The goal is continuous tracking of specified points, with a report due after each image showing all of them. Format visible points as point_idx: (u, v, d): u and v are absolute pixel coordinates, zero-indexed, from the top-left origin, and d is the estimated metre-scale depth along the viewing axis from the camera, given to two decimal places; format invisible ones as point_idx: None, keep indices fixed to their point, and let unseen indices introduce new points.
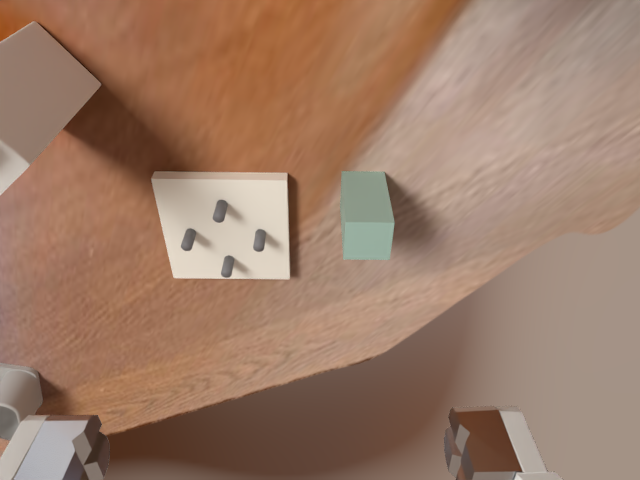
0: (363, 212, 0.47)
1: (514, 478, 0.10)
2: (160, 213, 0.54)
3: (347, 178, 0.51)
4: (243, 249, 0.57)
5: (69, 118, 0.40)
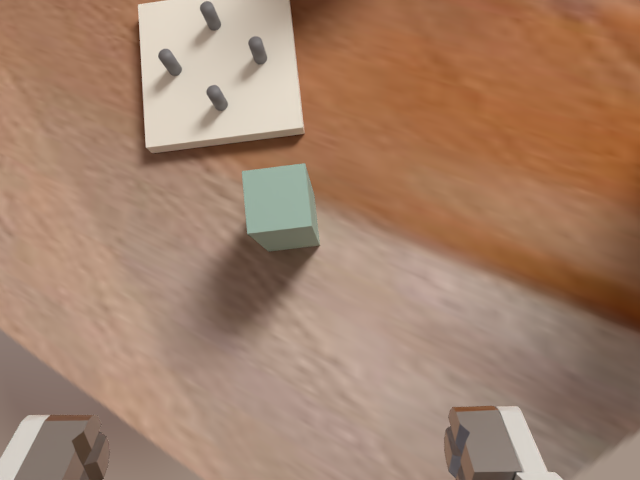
0: (309, 193, 0.36)
1: (514, 478, 0.10)
2: None
3: (313, 196, 0.42)
4: (193, 85, 0.44)
5: None
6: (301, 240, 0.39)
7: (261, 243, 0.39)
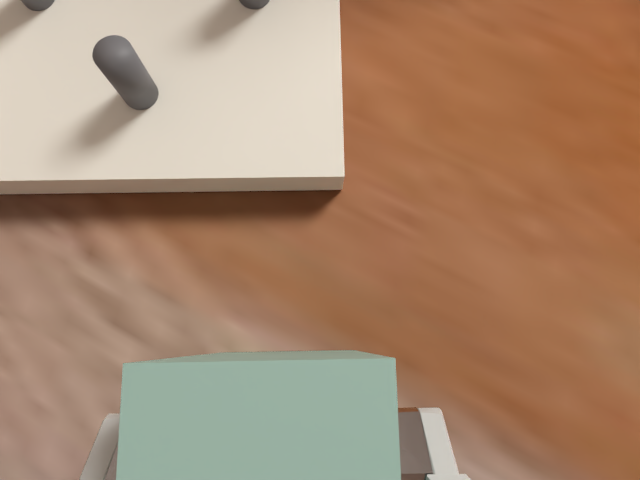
0: None
1: None
2: None
3: None
4: (77, 39, 0.18)
5: None
6: None
7: None
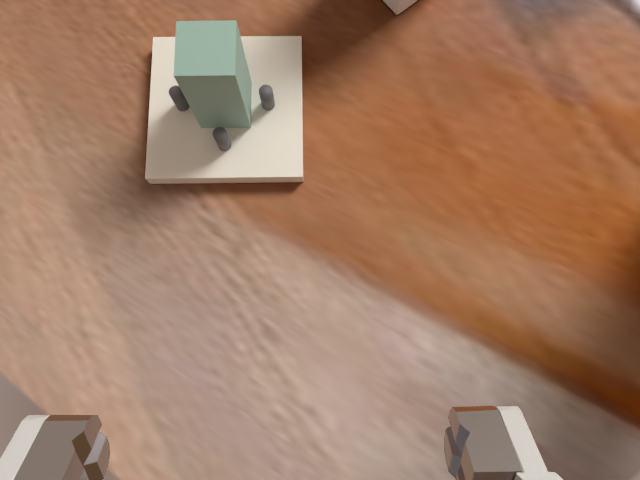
0: (239, 54, 0.38)
1: (514, 478, 0.10)
2: (254, 37, 0.47)
3: (249, 78, 0.44)
4: None
5: None
6: (230, 109, 0.41)
7: (191, 105, 0.41)
